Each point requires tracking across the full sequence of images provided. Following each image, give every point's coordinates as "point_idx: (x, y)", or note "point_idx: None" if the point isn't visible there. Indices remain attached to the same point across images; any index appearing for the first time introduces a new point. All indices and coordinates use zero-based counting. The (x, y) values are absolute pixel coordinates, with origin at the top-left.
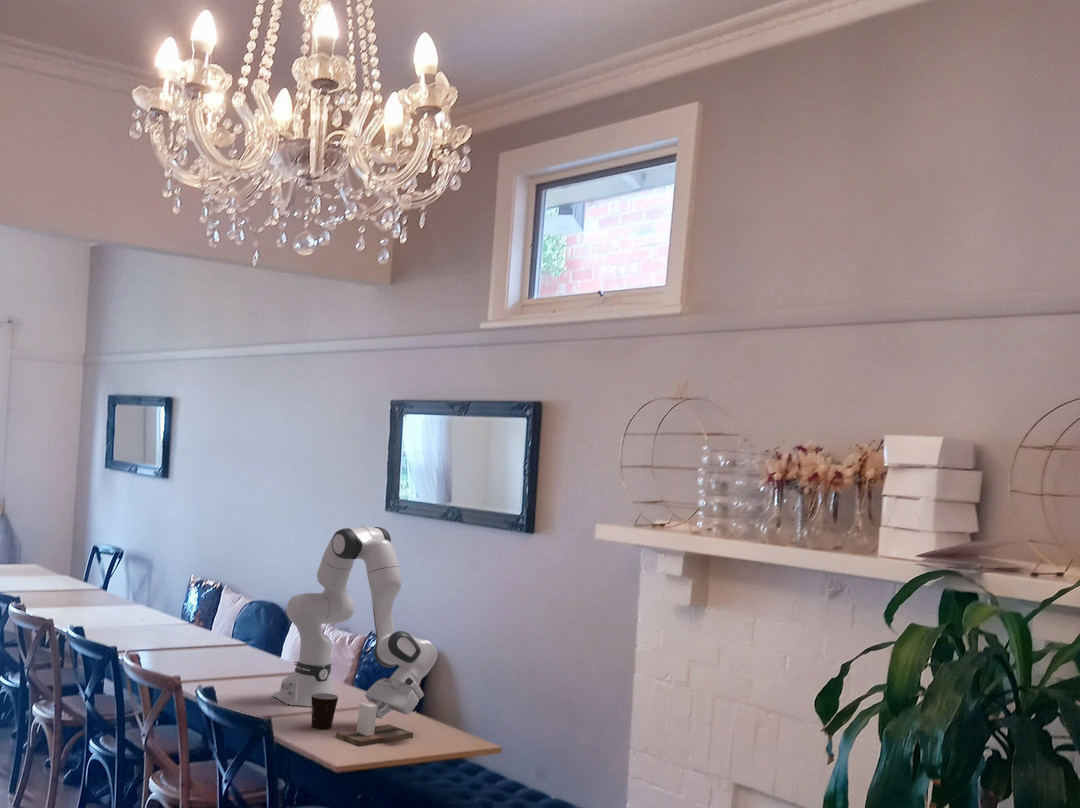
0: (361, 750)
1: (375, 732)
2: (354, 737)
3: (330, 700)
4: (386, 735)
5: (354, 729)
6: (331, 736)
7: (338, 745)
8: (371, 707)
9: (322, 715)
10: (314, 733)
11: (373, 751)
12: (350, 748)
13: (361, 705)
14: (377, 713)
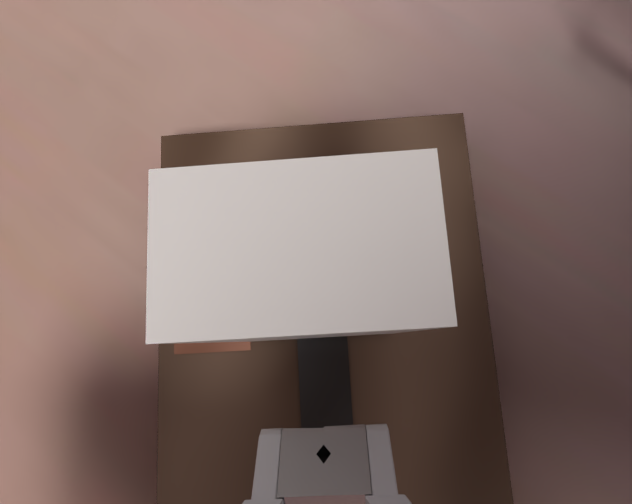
0: (94, 109)
1: (321, 413)
2: (271, 156)
3: None
4: (200, 448)
5: (485, 298)
6: (480, 112)
7: (262, 38)
8: (152, 212)
9: None
10: (597, 46)
11: (34, 167)
12: (167, 70)
13: (378, 160)
14: (297, 446)
